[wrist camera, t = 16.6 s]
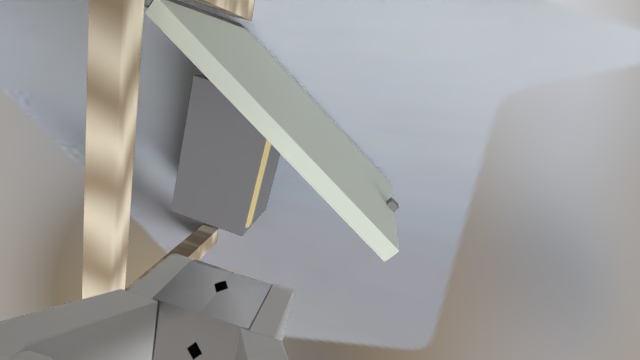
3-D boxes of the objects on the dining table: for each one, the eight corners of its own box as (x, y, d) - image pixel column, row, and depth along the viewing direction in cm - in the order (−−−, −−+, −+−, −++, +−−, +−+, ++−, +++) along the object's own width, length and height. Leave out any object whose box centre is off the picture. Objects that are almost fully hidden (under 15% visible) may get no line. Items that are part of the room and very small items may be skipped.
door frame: (236, -6, 42) (91, -89, 21) (254, -1, 41) (127, -80, 21) (201, 238, 52) (81, 346, 31) (216, 243, 52) (105, 354, 31)
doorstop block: (229, 75, 45) (193, 75, 36) (297, 97, 44) (277, 102, 35) (207, 188, 50) (171, 211, 41) (268, 209, 49) (244, 237, 40)
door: (228, 34, 42) (126, 5, 25) (242, 16, 42) (147, -26, 25) (379, 195, 45) (378, 266, 28) (395, 181, 44) (405, 246, 27)
